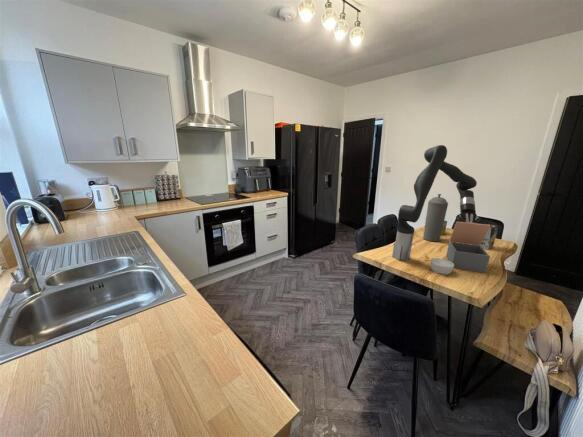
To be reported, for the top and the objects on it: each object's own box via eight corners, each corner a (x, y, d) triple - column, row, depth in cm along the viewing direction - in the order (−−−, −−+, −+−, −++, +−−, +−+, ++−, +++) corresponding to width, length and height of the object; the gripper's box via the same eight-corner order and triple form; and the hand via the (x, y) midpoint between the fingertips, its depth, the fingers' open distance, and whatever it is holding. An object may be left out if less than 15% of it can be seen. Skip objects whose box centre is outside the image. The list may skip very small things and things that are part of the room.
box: (485, 272, 130) (490, 256, 128) (451, 267, 136) (455, 251, 133) (476, 260, 145) (480, 245, 142) (446, 256, 150) (449, 241, 148)
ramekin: (424, 268, 135) (426, 259, 134) (437, 264, 140) (439, 256, 138) (443, 277, 125) (445, 268, 124) (457, 273, 130) (458, 264, 128)
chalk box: (436, 235, 188) (439, 217, 184) (426, 231, 197) (430, 214, 193) (445, 234, 191) (448, 217, 187) (435, 231, 199) (439, 214, 195)
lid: (490, 225, 132) (489, 224, 133) (456, 222, 138) (456, 221, 138) (480, 245, 142) (479, 244, 143) (449, 241, 148) (449, 240, 148)
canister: (444, 242, 174) (454, 195, 165) (428, 242, 173) (437, 195, 164) (433, 236, 187) (442, 192, 177) (418, 236, 186) (425, 192, 176)
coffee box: (488, 250, 161) (493, 227, 157) (477, 247, 166) (482, 225, 162) (493, 247, 166) (499, 225, 161) (482, 244, 171) (487, 223, 167)
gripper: (457, 201, 146) (458, 226, 139) (482, 203, 141) (485, 229, 134) (453, 208, 152) (453, 232, 145) (477, 210, 148) (479, 234, 140)
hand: (469, 230), depth 140 cm, fingers closed
